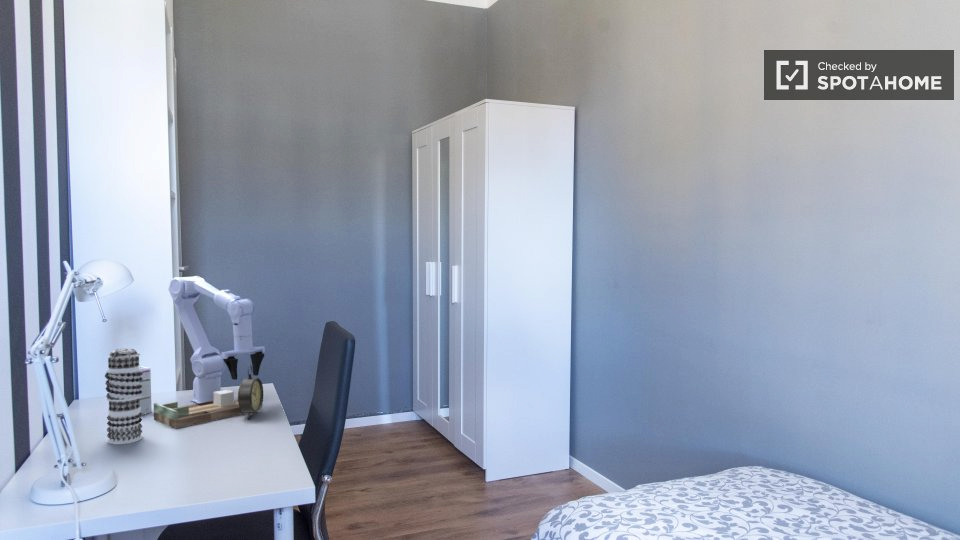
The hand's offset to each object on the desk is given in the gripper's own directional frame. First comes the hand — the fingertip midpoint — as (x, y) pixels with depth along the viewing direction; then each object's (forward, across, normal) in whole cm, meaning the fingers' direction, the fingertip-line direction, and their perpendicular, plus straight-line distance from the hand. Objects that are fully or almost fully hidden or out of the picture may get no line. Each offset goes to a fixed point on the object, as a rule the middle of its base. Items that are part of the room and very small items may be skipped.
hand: (245, 377), depth 217 cm
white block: (+8, -8, +1) cm, 11 cm away
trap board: (+10, -15, +1) cm, 18 cm away
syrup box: (+8, -27, +19) cm, 34 cm away
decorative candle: (+10, -41, -6) cm, 42 cm away
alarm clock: (+11, -5, -10) cm, 15 cm away
